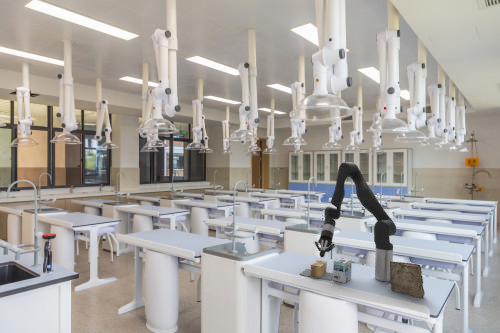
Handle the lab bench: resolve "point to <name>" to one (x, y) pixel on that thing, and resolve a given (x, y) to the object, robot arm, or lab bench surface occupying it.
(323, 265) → the oak block
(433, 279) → the lab bench surface
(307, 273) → the mat
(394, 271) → the mineral sample
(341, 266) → the light bulb box
